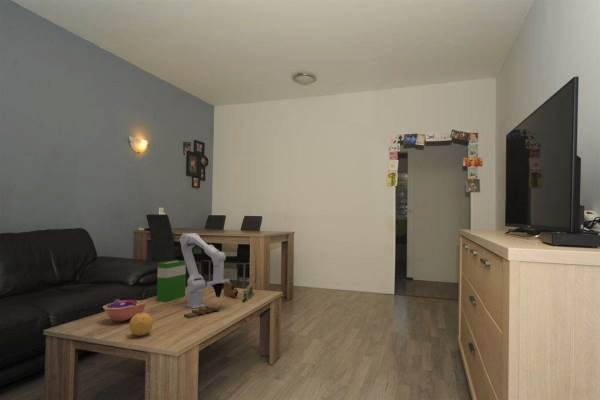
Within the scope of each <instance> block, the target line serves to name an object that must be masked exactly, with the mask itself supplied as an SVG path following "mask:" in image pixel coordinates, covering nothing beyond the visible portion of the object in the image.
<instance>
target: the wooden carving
mask: <svg viewBox="0 0 600 400" xmlns="http://www.w3.org/2000/svg"><path fill="white" fill-rule="evenodd" d="M223 284H224V287H223V289H222V291H223V294H224V295H225V297H228V298H231V297H233V298H237V297H238V294H239V290H238V288H235V284H234V283H232V282H231V281H229V283H223Z"/></svg>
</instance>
